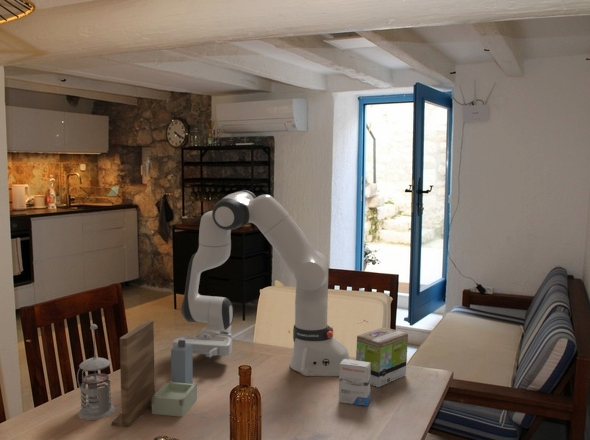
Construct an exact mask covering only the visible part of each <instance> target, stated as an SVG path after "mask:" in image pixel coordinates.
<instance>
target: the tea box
mask: <svg viewBox="0 0 590 440" xmlns="http://www.w3.org/2000/svg"><path fill="white" fill-rule="evenodd" d="M408 340H409V334H408V333H407V332H404V331H400V330H396V329H392V328H390V327H386V326H383V327H380V328H377V329H374V330H372V331H369V332H365V333H361V334H358V335H357V336H356V349H355V350H356V351H355V353H356V355H355V360H356V361H364V362H371V376H370V384H371V385H370V386H372V385H373V387H375V386H376V388H378V387H379V388H381V387H383V386H384V385H386V384H389V382H390V383H391V381H392V382H393V381H397V380H399V379H401V378H403V376H404V377H406V376H405V375H407V362H408V359H407V358H408V343H409V342H408ZM398 378H399V379H398ZM396 379H397V380H396Z"/></svg>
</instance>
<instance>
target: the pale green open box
mask: <svg viewBox="0 0 590 440" xmlns="http://www.w3.org/2000/svg"><path fill="white" fill-rule="evenodd" d="M197 387H198V385H197V383H193V384H189V383H178V382H171V381H167V382H165V384H164V385H162V386H161V388H159V389H158V391H155V394H154V395H153V396H152V405H151V414H152V415H160V416H161V415H162V416H170V417H179V418H180V417H184V416H185V415H186V414H187V412H188V411H189V410H190V409H191V408H192V407H193V405H195V403H196V401H197V400H198V391H197V390H198V388H197Z"/></svg>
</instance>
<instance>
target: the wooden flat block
mask: <svg viewBox="0 0 590 440" xmlns="http://www.w3.org/2000/svg"><path fill="white" fill-rule="evenodd" d="M154 325H155V324H154V321H153V320H146V321H144V322H143V323H141V324H139V325H138V326H136V327H135V328H133V329H132V330H131V331H128V332H127V333H126V334H124V335H122V336H121V337H119V361H120V362H119V364H120V396H121V397H120V399H121V400H120V403H121V404H120V405H121V407H120V408H121V412H120V413H119V414H118V415H117V416H116V417H115V418H114V419H113V420H112V421H111V426H113V427H121V428H122V427H123V428H130V427H131V426H132V425H133V424H134V423H135V422H136V421H137V420H138V419H139V418H140V417H141V416H142V415H143V414H144V413H145V412H146V411H147V410H148V409H149V408H150V407H152V396H153V395H154V394H155V393H156V390H155V387H156V386H155V383H156V381H155V377H156V376H155V338H154V337H155V333H154V332H155V328H154Z"/></svg>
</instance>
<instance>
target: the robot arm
mask: <svg viewBox="0 0 590 440" xmlns="http://www.w3.org/2000/svg"><path fill="white" fill-rule="evenodd" d="M248 223H250V224H251V223H252V224H254V225H255V226H256V227H257V229H259V231H260V232H261V234H262V235H263V236H264V238H266V240H267V241H268V243H269V244H270V245H271V246H272V248H273V249H274V250H275V251H276V253H277V254H278V256H279V257H280V259H281V261H282V262H283V264H284V265H285V267H286V269H287V271H288V272H289V274H290V275H291V276H292V278H293V279H294V280H295V282H296V283H295V297H294V298H295V299H294V324H293V329H292V339H293V347H292V348H293V350H292V356H291V359H290V363H289V367H290V368H291V369H292V370H294V371H295V372H298V373H300V374H301V375H303V376H304V377H308V376H309V377H339V364H340V363H341V361H342V360H343V359H349V360H353V358H352V359H351V358H350V355H349V350H348V347H346V346H345V345H344V344H343V343H342V342H341V341H340V340H338V339H337V338H336V337H334V327H333V326H330V325H329V324H328V308H329V307H328V300H329V296H328V295H329V261H328V258H327V257H326V256H325V254H324V253H322V252H320V251H318V250H316V249H315V248H314V247H313V245H312V244H311V243H310V240H309V239H308V238H307V236H306V235H305V233H304V231H303V230H302V229H301V228H300V226H299V225H298V224H297V222H296V221H295V220H294V219H293V217H292V215H290V214H289V212H288V211H287V210H286V209H285V208H284V206H283V205H281V203H280V202H278V200H276V199H275V198H274V196H272V195H270V194H260V195H258V196H256V195H255V193H254V192H251V191H250V190H247V189H246V190H245V189H242V190H237V191H235V192H233V193H229V194H227V195H225V196H224V197H222V198H221V199H219V200H218V201H217V202H216V204H215V205H214V206H213V209H212V210H210V211H207V212H205V213H204V214H203V215H201V218H200V224H199V228H198V229H199V233H198V248H197V251H196V252H195V253H193V254H192V255H191V258H190V260H189V263H188V268H187V275H186V281H185V287H184V288H185V290H184V296H183V299H182V304H181V309H180V310H181V311H180V313H181V316H182V318H184V319H185V321H187V322H188V323H205V324H206V323H207V325H206V326H205V327H204V328H202V329H200V331H199V332H198V333H197V334H196V335H195V336H192V335H191V336H190V335H189V336H188V335H183V336H180V337H177V338H175V339H174V340H172V343H171V349H172V348H173V347H175V346H176V345H177V344H178V340H185V344H192V354H193V355H194V354H197V355H205V356H206V357H205V358H212V357H214V356H221V357H226V356H227V357H228V356H230V355H231V353H232V352H233V334H232V333H231V332H232V324H233V321H234V316H235V315H234V310H235V309H234V306H233V304H232V302H231V301H230V299H229V298H227V297H223V296H214V295H213V296H211V295H202V294H200V293H199V285H200V281H201V280H200V279H201V274H202V273H203V272H205V271H208V270H211V269H214V268H217V267H220V266H222V265H223V264H225V262H226V261H228V259H229V258H230V256H231V250H232V239H231V236H232V235H231V233H232V230H236V229H238V228H241V227H244V226H246V225H248Z"/></svg>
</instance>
